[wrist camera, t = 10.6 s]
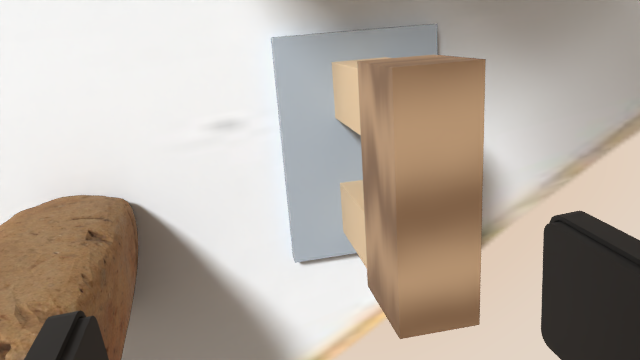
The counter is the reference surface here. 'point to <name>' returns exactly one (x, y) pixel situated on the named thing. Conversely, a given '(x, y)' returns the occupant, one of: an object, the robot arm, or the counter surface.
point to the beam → (423, 188)
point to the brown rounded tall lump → (67, 269)
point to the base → (330, 131)
